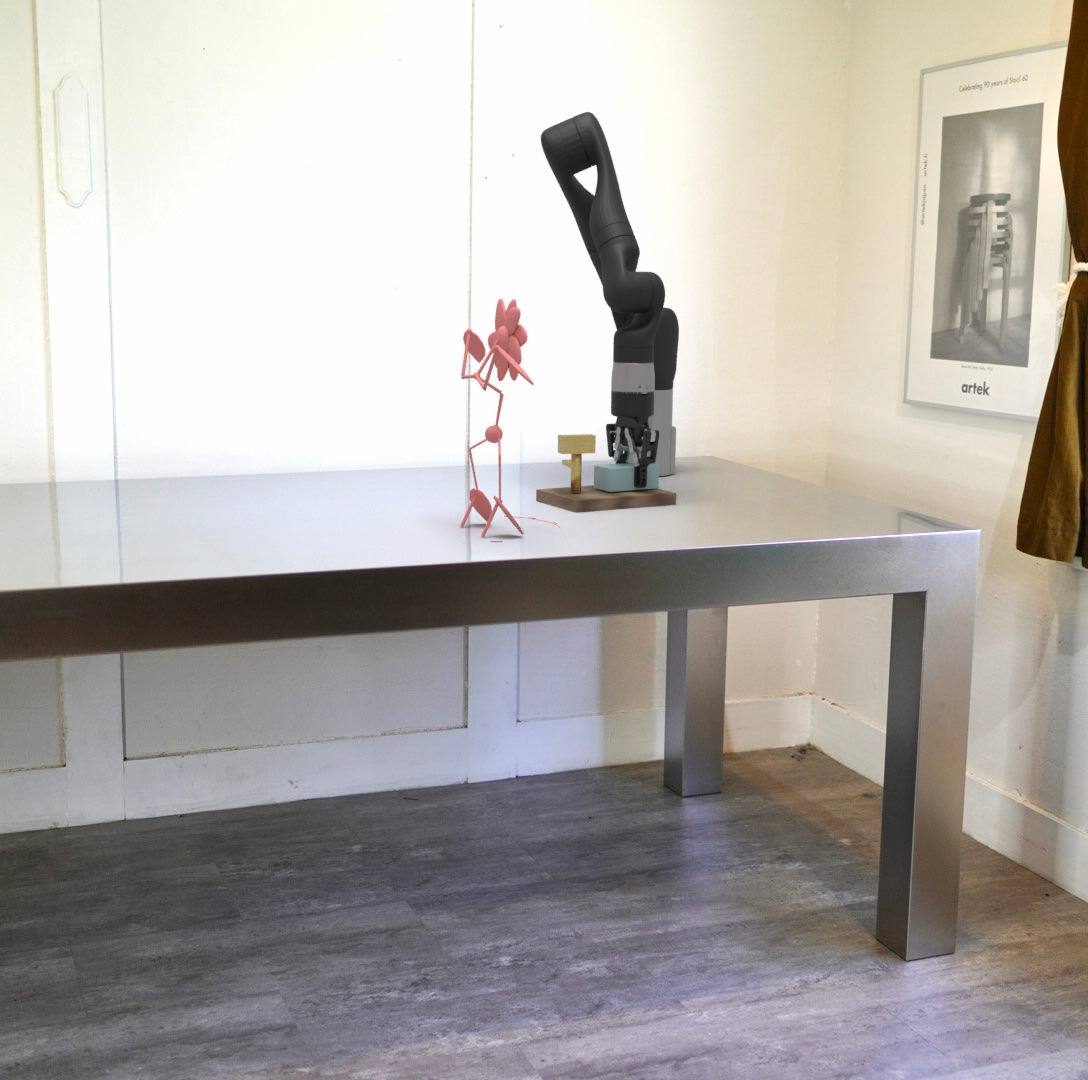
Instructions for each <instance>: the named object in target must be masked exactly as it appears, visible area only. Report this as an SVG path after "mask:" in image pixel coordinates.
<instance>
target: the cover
mask: <svg viewBox="0 0 1088 1080" xmlns="http://www.w3.org/2000/svg"><path fill="white" fill-rule="evenodd" d="M634 467H635V463H621V464H616V463H607V464H595V465H593V485H594V488H597V489H600V490H604V491H608V492H616V491H629V490H641V489H654V488H658V489H660V488H659V487H660V486H659V482H660V480H659V478H660V476H659V465H654V464H650V465H649V466H648V467H647V485H646V487H645V488H636V487H634Z"/></svg>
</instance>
